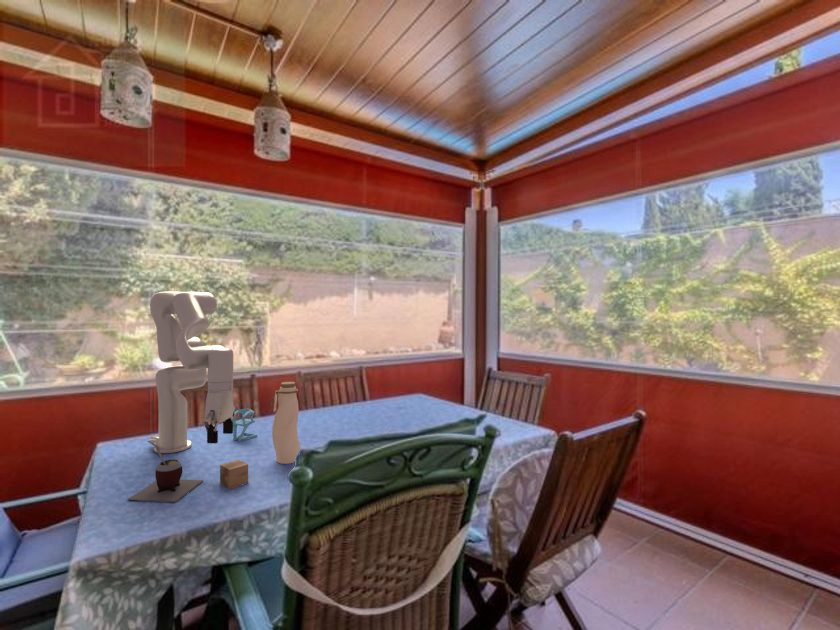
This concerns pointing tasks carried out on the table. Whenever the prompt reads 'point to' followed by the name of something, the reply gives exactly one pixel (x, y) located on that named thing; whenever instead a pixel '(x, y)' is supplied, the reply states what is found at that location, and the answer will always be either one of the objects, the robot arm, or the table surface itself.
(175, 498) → the rubber mat
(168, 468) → the mate gourd
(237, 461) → the brown cube
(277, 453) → the water bottle
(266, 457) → the table surface
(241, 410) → the chair
